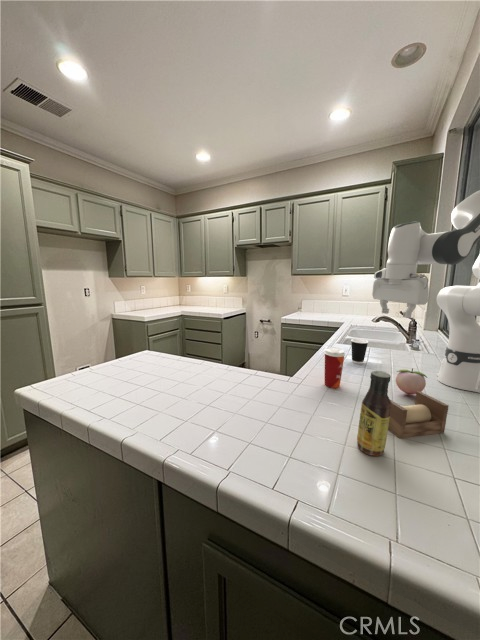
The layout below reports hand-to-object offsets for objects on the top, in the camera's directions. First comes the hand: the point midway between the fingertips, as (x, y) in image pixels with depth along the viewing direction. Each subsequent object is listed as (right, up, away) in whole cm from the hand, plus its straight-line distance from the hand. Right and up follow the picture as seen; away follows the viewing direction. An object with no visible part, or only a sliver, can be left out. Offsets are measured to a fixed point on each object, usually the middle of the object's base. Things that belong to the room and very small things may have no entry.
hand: (395, 315), depth 90 cm
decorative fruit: (+9, -29, +6) cm, 31 cm away
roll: (-4, -31, -14) cm, 34 cm away
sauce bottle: (-21, -34, -25) cm, 46 cm away
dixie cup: (+6, -23, +42) cm, 48 cm away
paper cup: (-17, -27, +14) cm, 35 cm away
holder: (-4, -32, -14) cm, 35 cm away
